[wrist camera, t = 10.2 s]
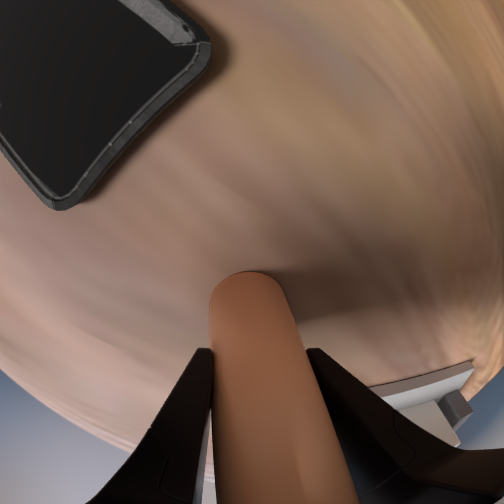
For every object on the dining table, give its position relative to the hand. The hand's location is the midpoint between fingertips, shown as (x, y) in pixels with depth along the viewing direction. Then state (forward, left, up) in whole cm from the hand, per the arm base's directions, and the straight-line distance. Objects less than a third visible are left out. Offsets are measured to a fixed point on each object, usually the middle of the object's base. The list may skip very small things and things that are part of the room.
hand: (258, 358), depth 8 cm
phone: (+10, -11, -4) cm, 15 cm away
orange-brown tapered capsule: (0, 0, -3) cm, 3 cm away
